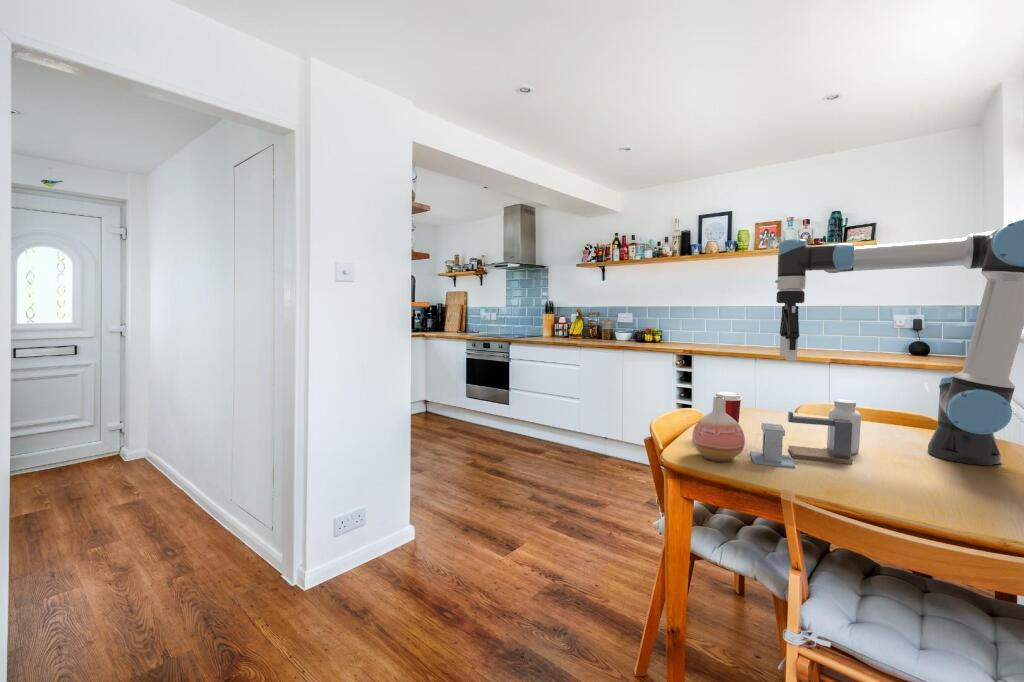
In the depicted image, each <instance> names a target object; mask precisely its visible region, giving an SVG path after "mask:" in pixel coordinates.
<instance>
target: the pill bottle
mask: <svg viewBox="0 0 1024 682" xmlns="http://www.w3.org/2000/svg"><path fill="white" fill-rule="evenodd" d="M833 405H834V407H833V408H831V409H830V410H829V411H828V417H827V419H831V418H839V419H848V420H849V421H850V422H852V440H851V455H852V454H858V453H859V449H860V440H861V427H862V426H861V423H862V415H861V412H859V411H858V410H856V409H857V408H856V407H857V402H856V401H854V400H851V399H844V398H843V399H841V398H839V399H835V400H834V401H833ZM826 437H827V439H826V447H827V449H829V446H830V426H828V425H827V436H826Z"/></svg>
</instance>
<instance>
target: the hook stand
mask: <svg viewBox="0 0 1024 682" xmlns="http://www.w3.org/2000/svg"><path fill="white" fill-rule="evenodd" d="M787 422H788V423H793V424H794V423H795V424H807V425H817V426H827V427H828V426H830V446H829V449H828V448H819V447H818V448H817V447H816V448H815V447H809V446H808V447H806V446H796V445H788V452H789V453H790V455H791V456H792V457H791V458H793V459H798V460H799V459H800V460H806V461H815V462H816V461H817V462H825V463H826V462H827V463H835V464H837V463H838V464H845V465H853V459H852V458H851V455H852V454H851V440H852V422H850V421H849V420H848V419H839V418H831V419H828V417H827V418H826V417H825V418H824V417H812V416H811V417H810V416H798V415H794V413H793V411H787Z"/></svg>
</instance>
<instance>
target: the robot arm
mask: <svg viewBox="0 0 1024 682" xmlns="http://www.w3.org/2000/svg"><path fill="white" fill-rule="evenodd" d="M956 266H957V267H959V266H962V267H964V268H966V269H968V270H970V269H974V270H975V269H981V271H980V273H981V275H983V277H985V279H986V284H985V287H984V291H983V293H982V294H983V295H982V299H981V302H980V306H979V309H978V313H977V316H976V320H975V324H974V328H973V330H972V335H971V339H970V342H969V345H968V349H967V353H966V356H965V361H964V364H963V368H962V370H961V371H958V372H957V373H954V374H952V376H943V377H941V379H940V383H939V385H938V388H939V394H938V395H939V398H938V410H937V412H938V413H937V426H936V429H935V430H934V433H933V435H932V436H931V438H930V440H929V443H928V444H927V453H928V454H930V455H932V456H934V457H937V458H940V459H943V460H946V461H947V460H948V461H952V462H955V461H956V463H961V462H962V463H961V464H967V463H968V464H969V465H975V464H981V465H980V466H994V465H993V464H998V465H1000V464H1001V462H1002V461H1001V460H1002V458H1001V457H1002V456H1001V455H1002V454H1001V452H1000V450H999V449H1000V448H999V447H998V444H997V441H996V438H995V435H994V433H997V432H1000V431H1001V430H1003V429H1004V428H1005V427H1007V426H1008V425H1009V423H1010V422H1011V420H1012V417H1013V410H1012V406H1011V402H1012V398H1013V396H1014V392H1015V388H1016V385H1015V384H1013V382H1012V381H1011V380H1010V374H1011V371H1012V367H1013V364H1014V361H1015V357H1016V354H1017V351H1018V348H1019V344H1020V340H1021V336H1022V335H1023V334H1022V333H1023V330H1024V218H1018V219H1015V220H1011V221H1008V222H1007V223H1004V224H1003V225H1001V226H1000V227H998V228H997V229H994V230H989V231H985V232H984V231H983V232H978V233H977V232H976V233H968V234H967V236H964V237H962V238H953V239H952V238H951V239H950V238H949V239H939V240H925V241H913V242H910V241H909V242H900V243H889V244H887V243H886V244H885V243H884V244H877V245H876V244H875V245H863V246H860V245H859V246H855V245H854V244H853V243H848V242H847V243H842V242H839V243H830V244H817V245H808V241H807V239H804V238H798V239H795V238H794V239H786V240H783V241H780V243H779V246H778V254H777V279H775V284H777V288H776V289H777V290H778V291H777V292H776V303H778V304H784V305H782V306H781V320H780V326H779V335H780V341H779V342H780V343H779V357H785V361H789V362H797V361H798V343H799V341H798V340H799V338H800V335H801V334H800V325H799V324H800V323H799V306H798V305H797V304H804V303H805V297H806V296H805V295H806V294H805V293H806V292H805V289H806V280H807V279H806V274H807V273H806V272H807V271H809V272H810V271H824V272H825V273H828V274H838V273H847V272H860V271H861V272H862V271H878V270H879V271H880V270H899V269H901V270H903V269H919V268H936V267H937V268H939V267H940V268H941V267H956ZM999 463H1000V464H999Z"/></svg>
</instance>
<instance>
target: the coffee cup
mask: <svg viewBox="0 0 1024 682" xmlns="http://www.w3.org/2000/svg"><path fill="white" fill-rule="evenodd" d="M715 396H721V397H725V412H726V413H727V414H728V415H729V416H731V417H732V418H733V419H734V420H735V421H736V422H737V423H738V424H739V425H740V423H739V422H740V413H741V412H740V409H741V403H742V400H743V399H742V397H741V394H739V393H737V392H732V391H731V392H730V391H718V392H715V394H714V396H713V398H714V397H715Z"/></svg>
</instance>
